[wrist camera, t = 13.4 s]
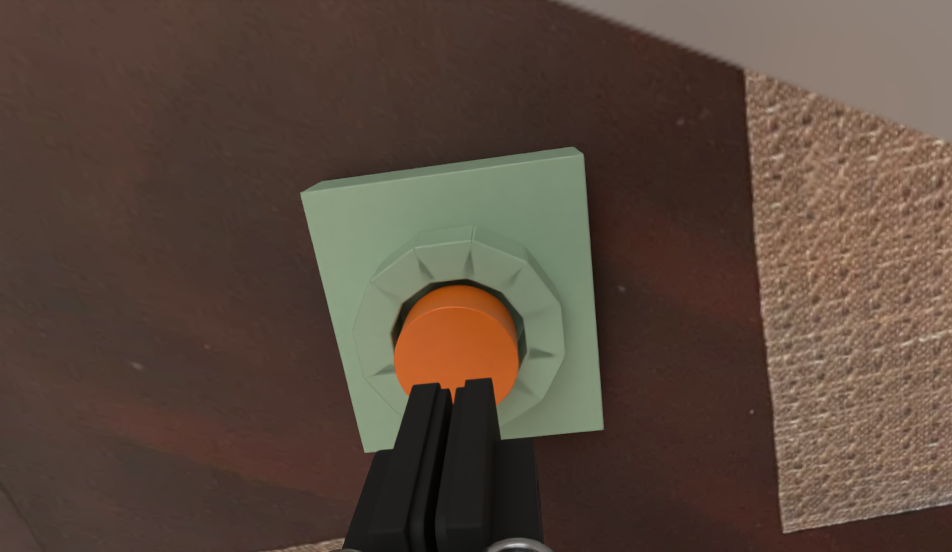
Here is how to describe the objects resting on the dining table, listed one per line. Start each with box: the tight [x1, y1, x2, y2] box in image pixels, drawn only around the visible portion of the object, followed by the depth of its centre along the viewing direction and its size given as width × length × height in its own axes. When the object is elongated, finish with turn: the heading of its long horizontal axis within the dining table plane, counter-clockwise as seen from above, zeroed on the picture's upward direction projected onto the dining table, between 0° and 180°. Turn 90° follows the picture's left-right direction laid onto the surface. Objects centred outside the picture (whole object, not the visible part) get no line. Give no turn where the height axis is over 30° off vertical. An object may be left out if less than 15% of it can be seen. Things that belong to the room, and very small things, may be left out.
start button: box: [394, 285, 519, 405], centre depth 16 cm, size 4×4×2 cm
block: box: [300, 147, 604, 453], centre depth 18 cm, size 10×9×4 cm
